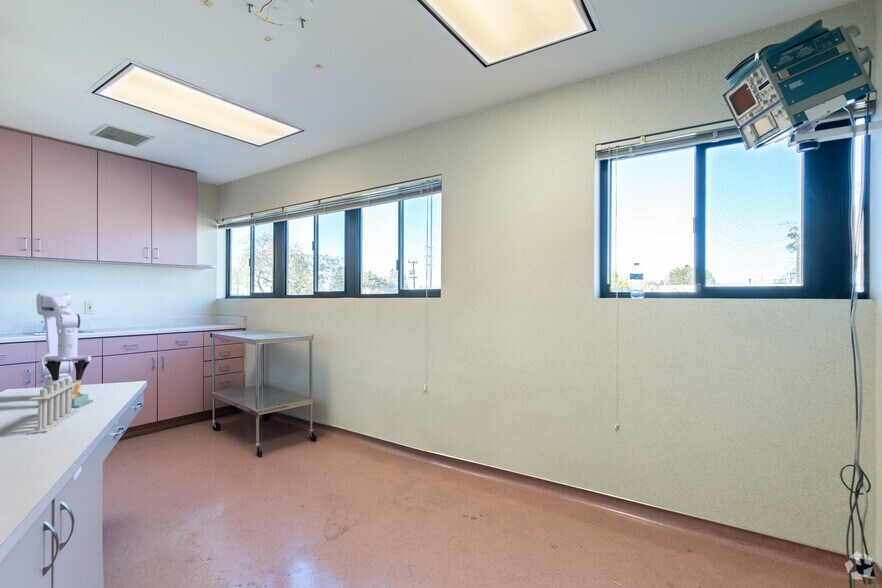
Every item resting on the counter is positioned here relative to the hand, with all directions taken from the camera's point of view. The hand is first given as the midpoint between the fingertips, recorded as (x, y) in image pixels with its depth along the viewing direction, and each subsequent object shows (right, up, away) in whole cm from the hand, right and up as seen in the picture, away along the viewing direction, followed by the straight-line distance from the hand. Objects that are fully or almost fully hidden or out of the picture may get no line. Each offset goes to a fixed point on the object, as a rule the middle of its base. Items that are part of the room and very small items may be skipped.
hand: (67, 380), depth 157 cm
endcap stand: (+2, -10, 0) cm, 10 cm away
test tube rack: (+15, -10, -20) cm, 27 cm away
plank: (+2, -9, 0) cm, 9 cm away
